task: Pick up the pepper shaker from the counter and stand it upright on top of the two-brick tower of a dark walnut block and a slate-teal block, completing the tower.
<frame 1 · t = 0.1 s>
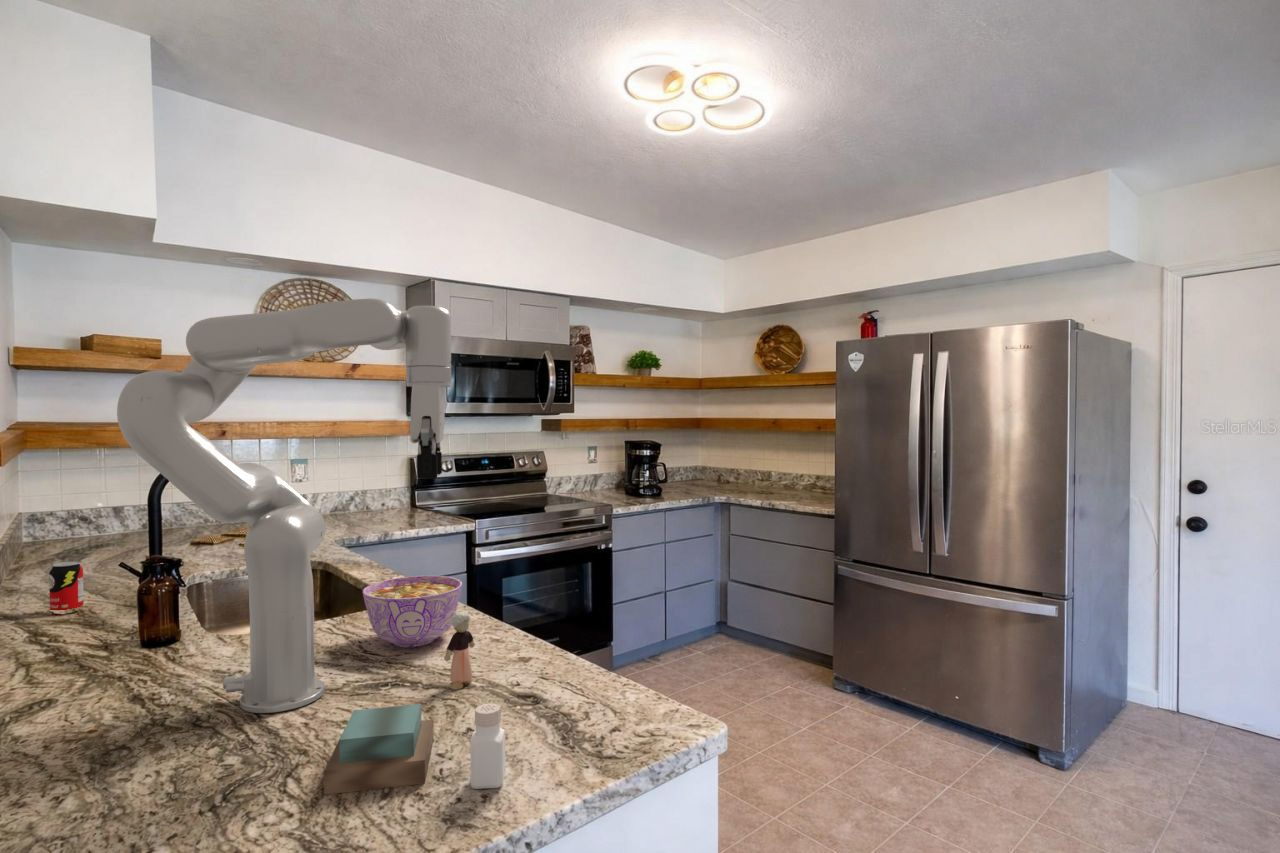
hand: (430, 476, 118), 37 cm above the worktop, tool pointing down, fingers open, 9 cm apart
brick tower: (383, 765, 91), on the worktop
bowl of food: (414, 642, 143), on the worktop
pepper shaker: (488, 783, 87), on the worktop
beverage can: (66, 613, 166), on the worktop
grandmother figurine: (461, 684, 120), on the worktop
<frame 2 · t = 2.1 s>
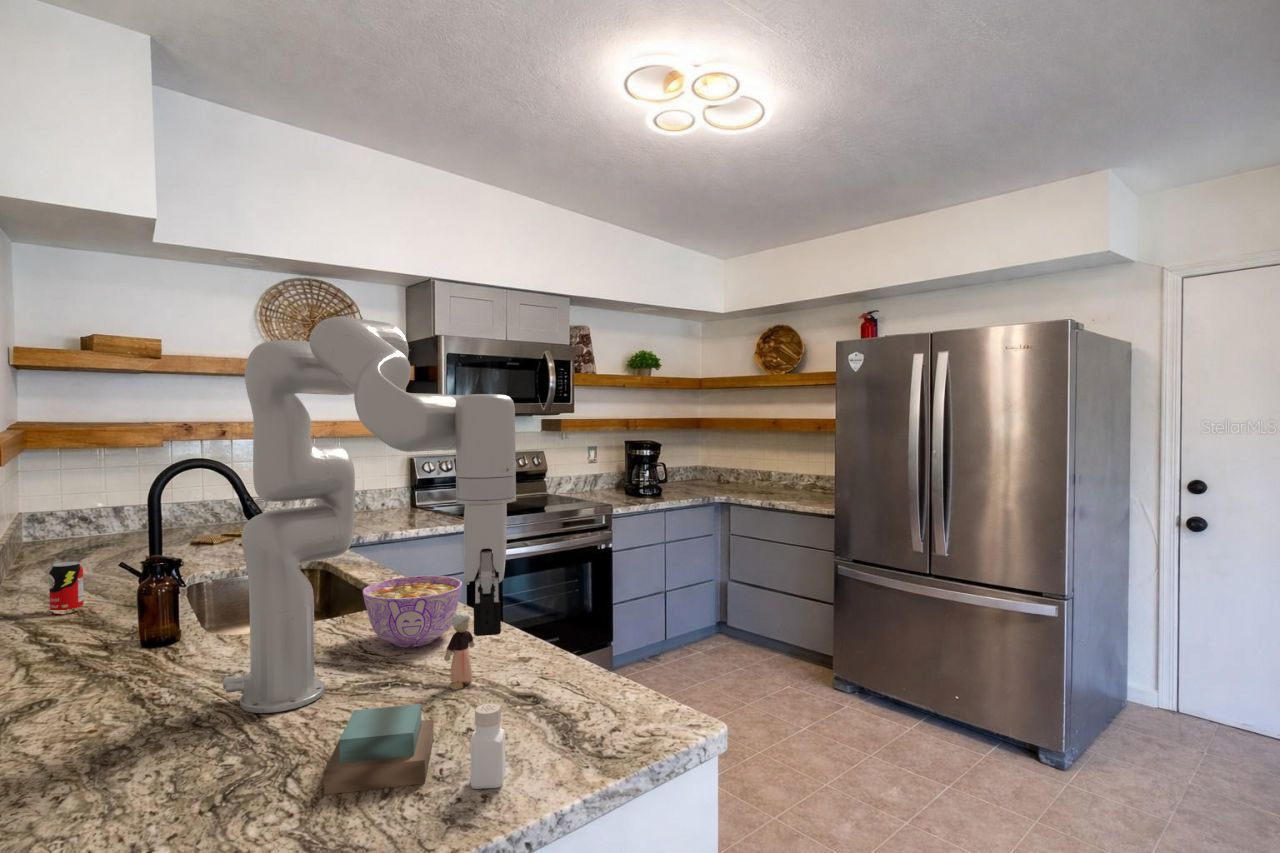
hand: (487, 623, 87), 20 cm above the worktop, tool pointing down, fingers open, 9 cm apart
nothing on the worktop moved.
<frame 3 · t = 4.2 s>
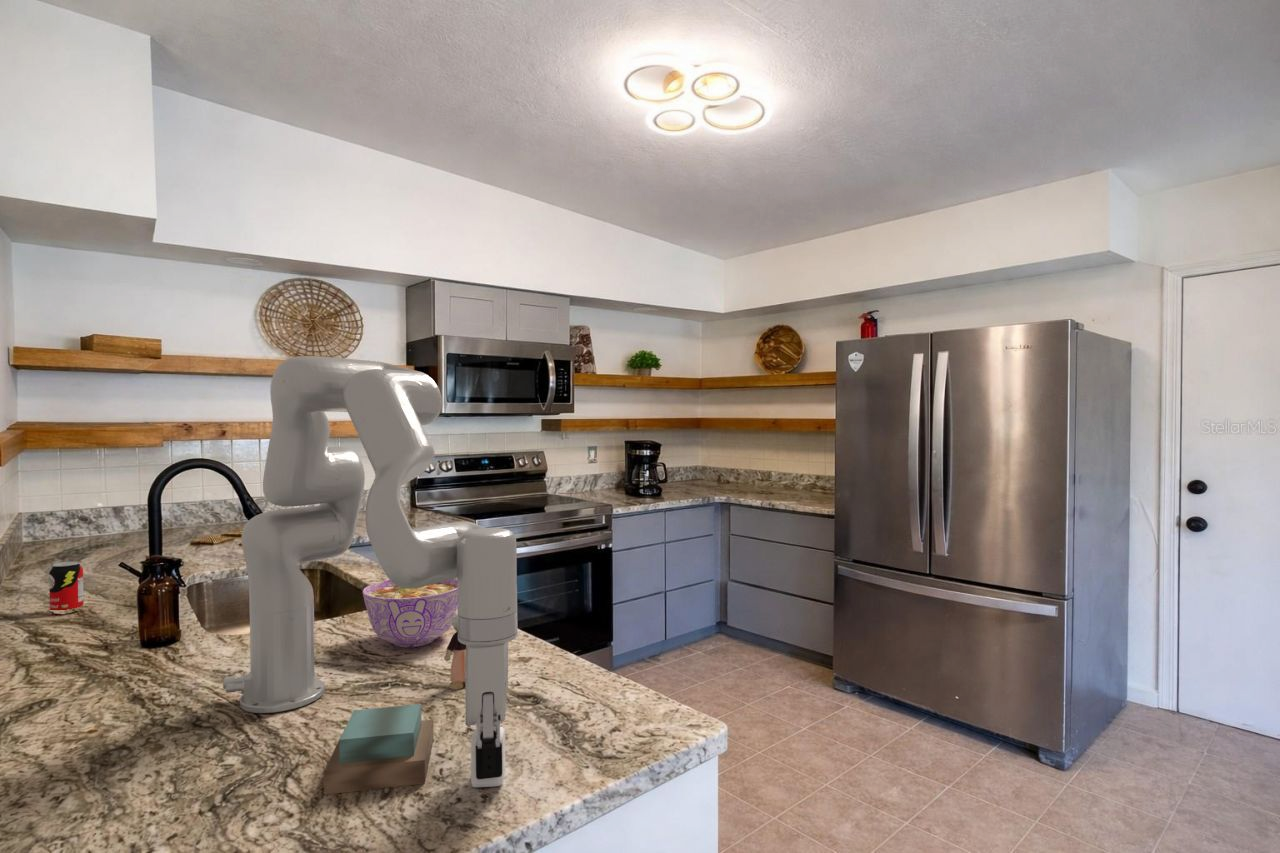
hand: (489, 765, 87), 2 cm above the worktop, tool pointing down, fingers closed on pepper shaker, 4 cm apart
pepper shaker: (488, 782, 87), on the worktop, touching gripper
everything else where it was.
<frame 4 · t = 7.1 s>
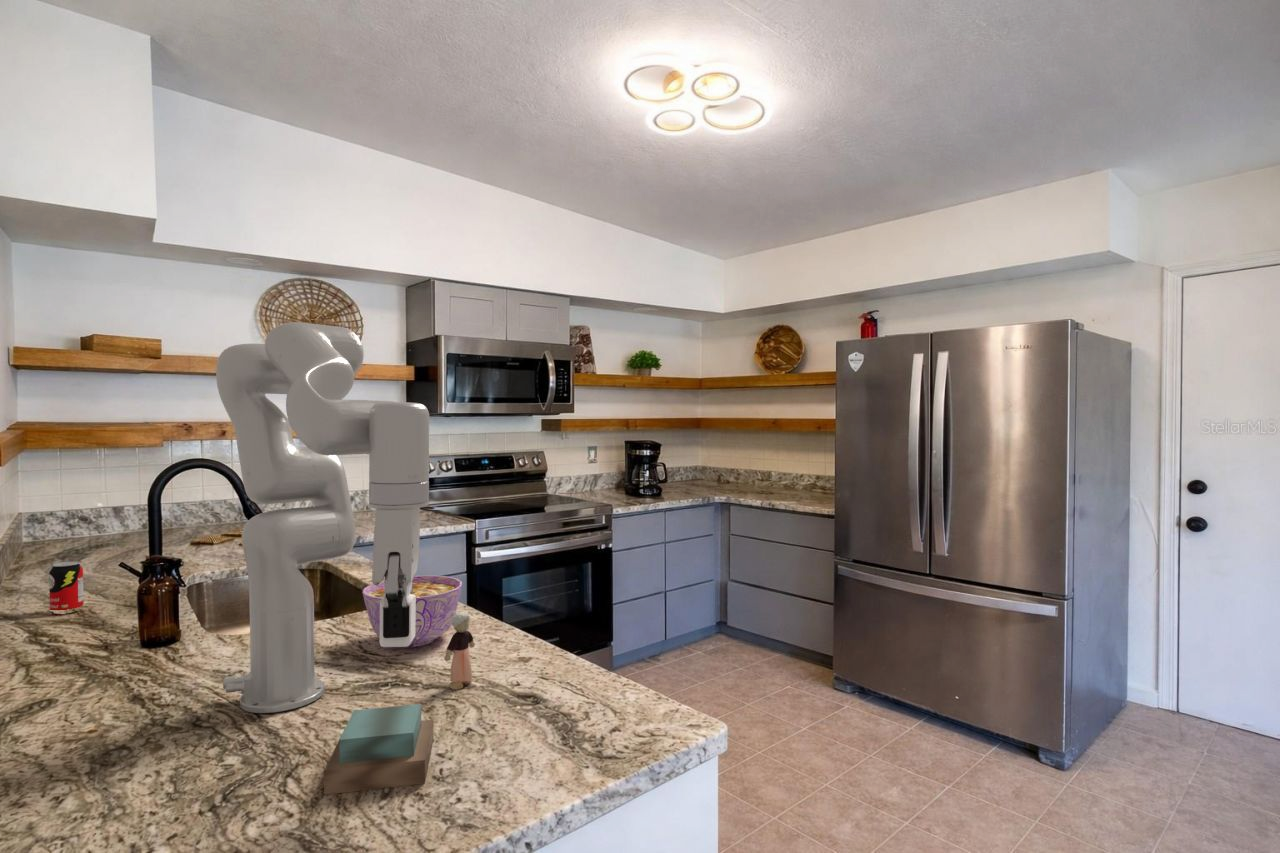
hand: (398, 629, 91), 18 cm above the worktop, tool pointing down, fingers closed on pepper shaker, 4 cm apart
pepper shaker: (397, 644, 91), point 16 cm above the worktop, touching gripper
everything else where it was.
when the fingers open (9 cm above the worktop, at t = 9.6 s): pepper shaker drops 1 cm, resting on brick tower.
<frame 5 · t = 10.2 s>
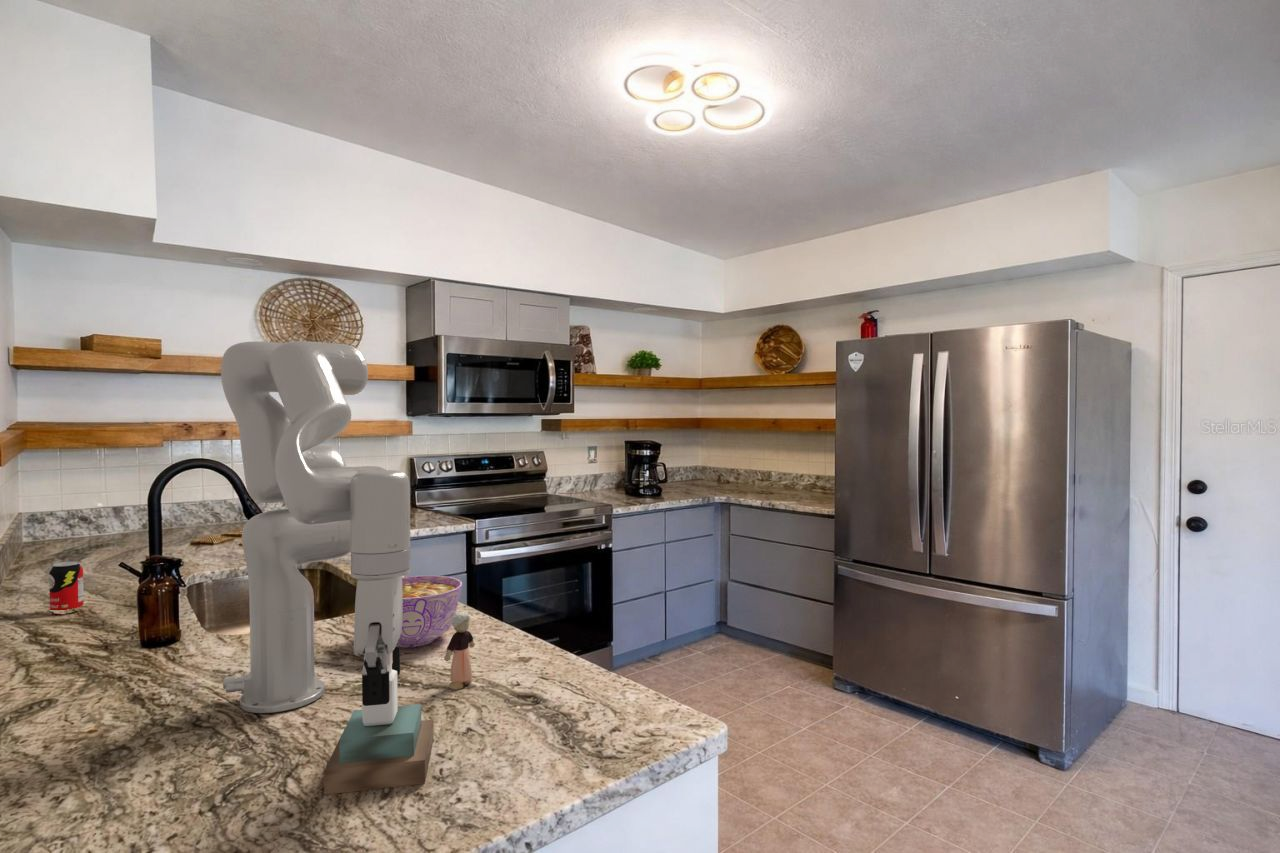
hand: (382, 689, 91), 10 cm above the worktop, tool pointing down, fingers open, 9 cm apart
pepper shaker: (380, 721, 91), point 6 cm above the worktop, touching brick tower
everything else where it was.
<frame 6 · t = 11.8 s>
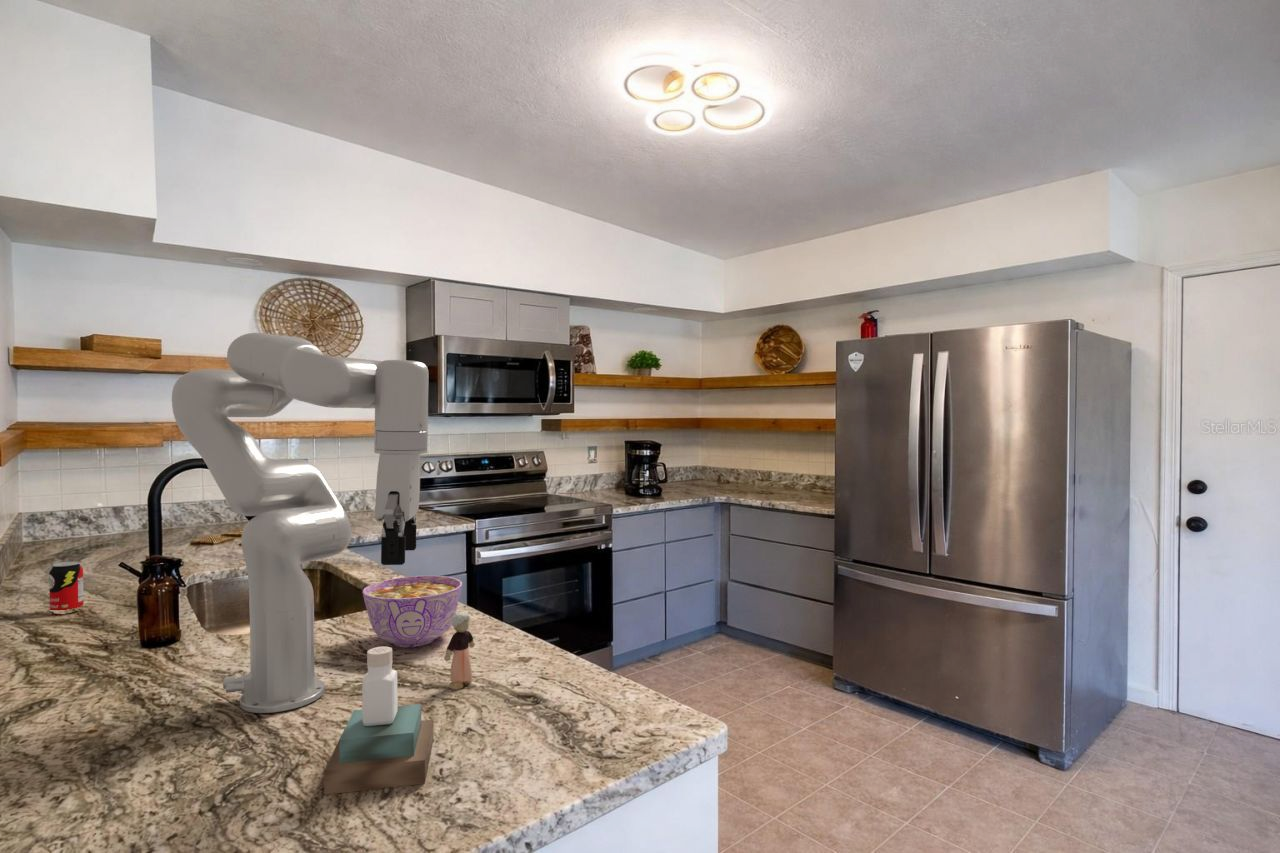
hand: (399, 556, 102), 26 cm above the worktop, tool pointing down, fingers open, 9 cm apart
nothing on the worktop moved.
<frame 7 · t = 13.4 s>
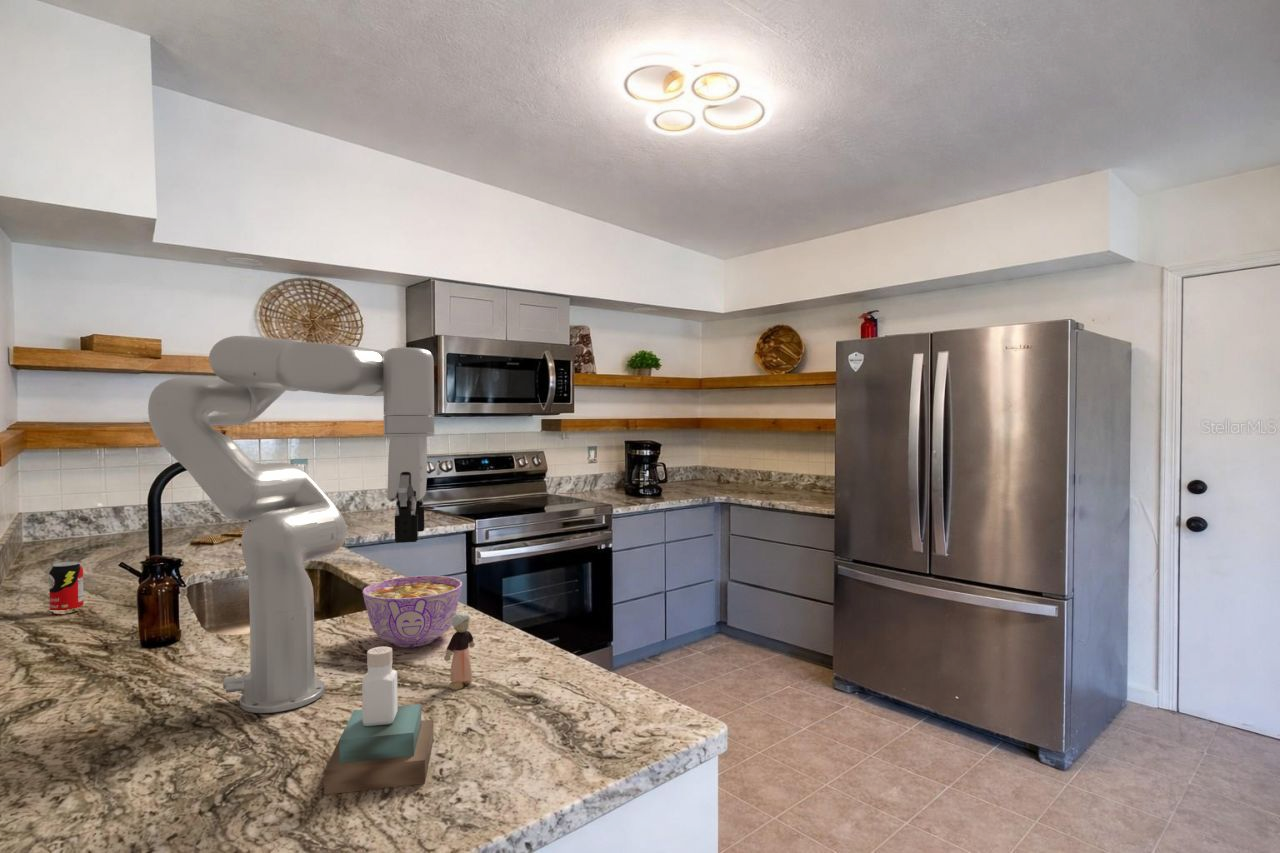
hand: (410, 536, 106), 28 cm above the worktop, tool pointing down, fingers open, 9 cm apart
nothing on the worktop moved.
at the end: pepper shaker 0.4 cm off-centre on the brick tower, point 5.8 cm above the brick tower's base; pepper shaker tilted 0°; the gripper is holding nothing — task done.
